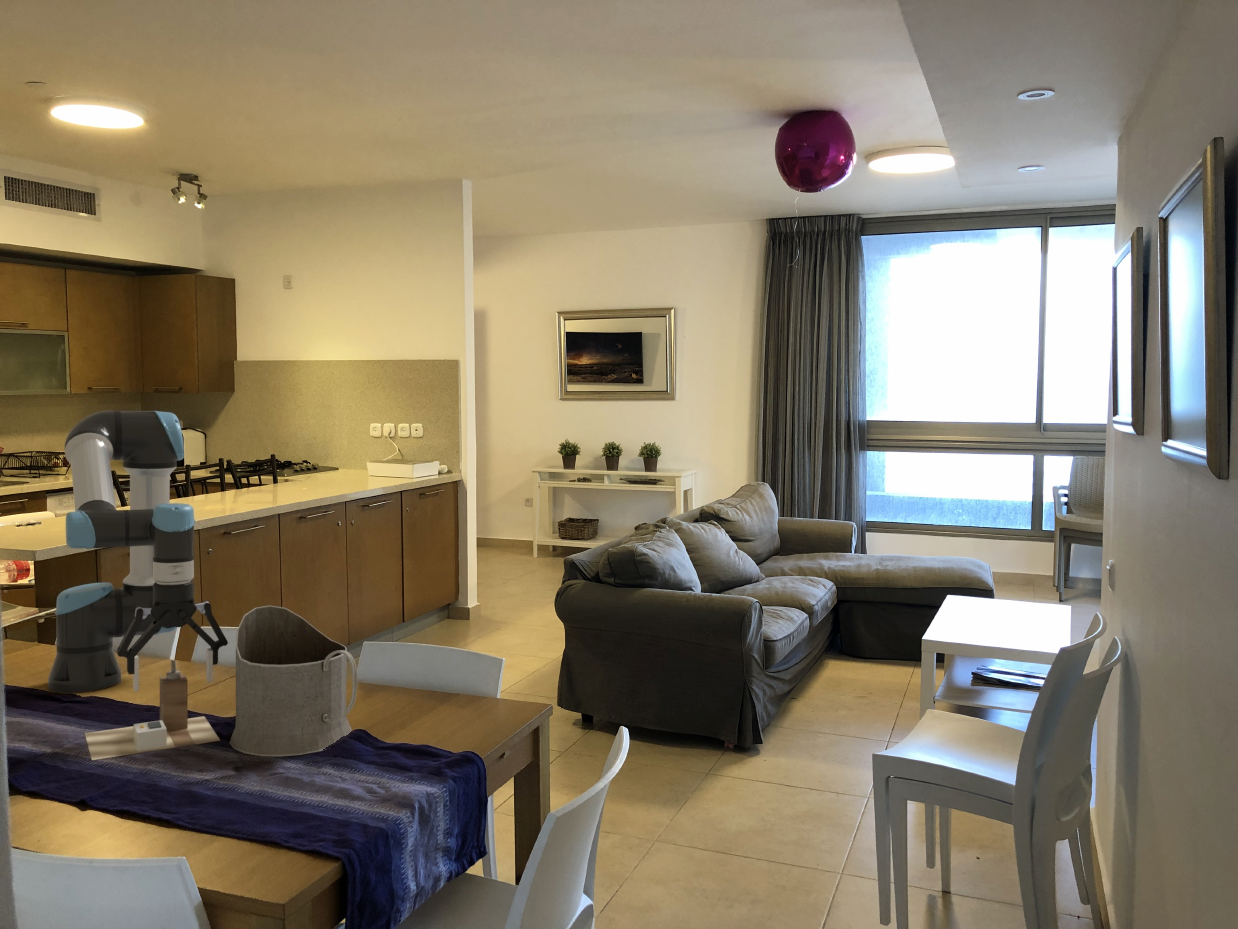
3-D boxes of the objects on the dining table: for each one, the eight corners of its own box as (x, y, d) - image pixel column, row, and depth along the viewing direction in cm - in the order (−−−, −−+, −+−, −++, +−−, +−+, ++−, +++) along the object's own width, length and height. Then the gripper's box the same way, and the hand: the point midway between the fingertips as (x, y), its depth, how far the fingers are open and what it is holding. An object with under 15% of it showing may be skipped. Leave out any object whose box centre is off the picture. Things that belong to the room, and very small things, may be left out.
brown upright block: (159, 725, 196) (159, 659, 195) (183, 722, 198) (183, 656, 197) (163, 732, 192) (162, 664, 191) (187, 728, 194) (187, 661, 194)
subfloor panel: (84, 739, 190) (84, 733, 190) (204, 722, 202) (204, 716, 202) (91, 766, 176) (91, 760, 176) (220, 746, 188) (220, 740, 188)
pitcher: (306, 711, 211) (307, 598, 210) (402, 743, 192) (403, 619, 191) (206, 738, 192) (206, 614, 191) (302, 776, 173) (302, 639, 172)
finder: (133, 742, 186) (133, 721, 186) (162, 737, 188) (162, 717, 188) (137, 751, 181) (137, 730, 181) (166, 747, 183) (166, 726, 183)
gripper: (105, 589, 183) (105, 698, 185) (243, 579, 197) (242, 681, 198) (101, 582, 190) (101, 688, 191) (235, 573, 203) (234, 672, 205)
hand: (173, 685), depth 195 cm, fingers open, 13 cm apart
